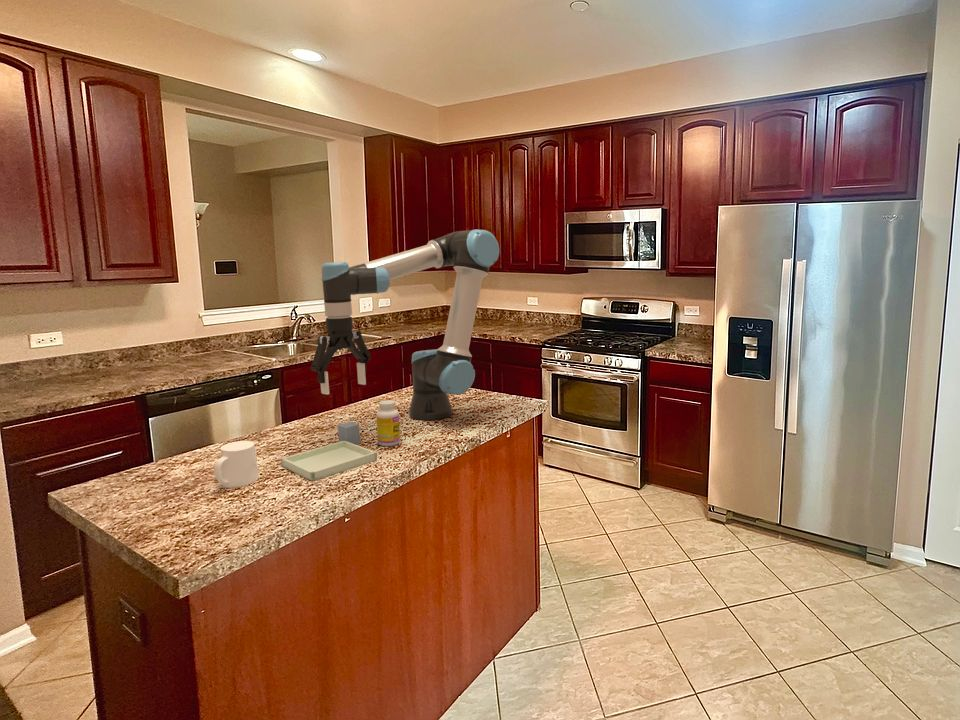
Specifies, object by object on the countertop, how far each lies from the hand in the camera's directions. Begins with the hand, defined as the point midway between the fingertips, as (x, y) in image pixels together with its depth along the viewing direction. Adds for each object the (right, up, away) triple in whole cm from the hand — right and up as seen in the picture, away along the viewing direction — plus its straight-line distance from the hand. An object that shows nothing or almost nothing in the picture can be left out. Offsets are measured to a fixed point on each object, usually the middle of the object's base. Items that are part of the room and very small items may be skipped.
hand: (344, 388), depth 169 cm
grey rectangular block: (0, -17, +5) cm, 18 cm away
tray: (-1, -20, -11) cm, 23 cm away
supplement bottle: (+12, -17, +5) cm, 21 cm away
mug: (-22, -23, -23) cm, 39 cm away
